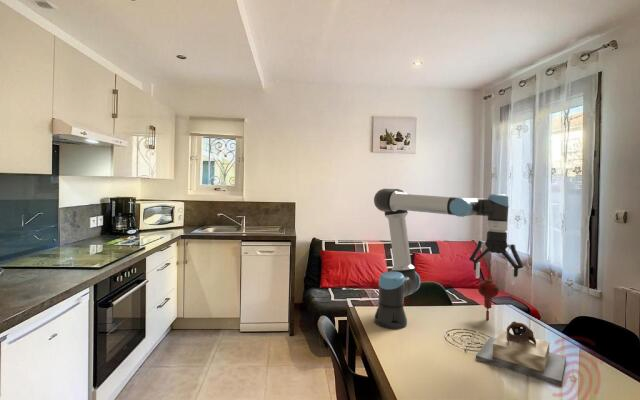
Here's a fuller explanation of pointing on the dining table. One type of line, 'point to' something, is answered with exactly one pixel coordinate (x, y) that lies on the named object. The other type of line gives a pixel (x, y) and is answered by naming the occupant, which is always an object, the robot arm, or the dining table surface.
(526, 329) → the pottery mug
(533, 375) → the build base
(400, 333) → the dining table surface
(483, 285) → the lantern
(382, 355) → the dining table surface
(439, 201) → the robot arm
